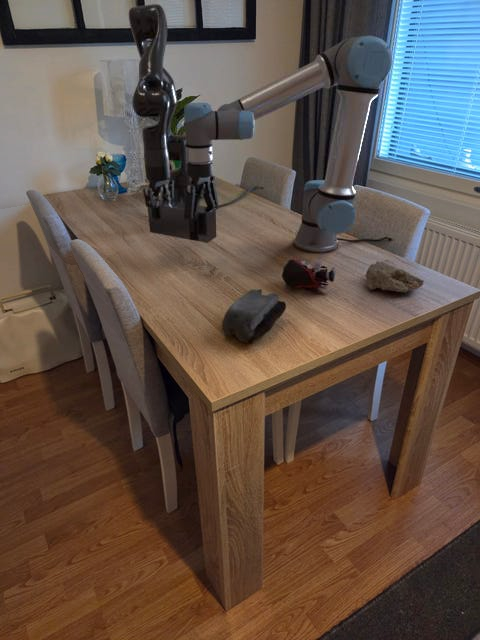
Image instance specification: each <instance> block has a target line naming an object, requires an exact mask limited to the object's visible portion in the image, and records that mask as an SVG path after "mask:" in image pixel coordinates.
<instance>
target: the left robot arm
mask: <svg viewBox="0 0 480 640" xmlns="http://www.w3.org/2000/svg"><path fill="white" fill-rule="evenodd" d="M128 22H129V27H130V30H131V33H132V36H133V39H134V44H135V45H136V49H137V53H138V55H139V59H140V60H139V63H138V81H137V85H136V87H135V90H134V93H133V96H132V103H131V104H132V109H133V111H134V113H135V115H136V116H138V117H140V118H155V120H156V122H155V123H154V124H151V125H146V126H143V128H142V131H141V135H142V136H141V137H142V144H143V163H144V172H145V179H146V180H147V181H148V183H149V184H148V187H147V188H143V189H142V193H143V197H144V202H145V207H146V208H147V207H150V208H151V211H152V217H153V219H156V220H158V219H159V209H158V205H159V201H160V200H166V201H173V202H179V203H185V198H186V190H185V186H186V185H191V180H192V179H191V177H190V176H188V173H187V163H188V161H187V158H186V137H185V135H177V134H173V132H172V127H171V123H172V119H173V117H174V114H175V112H176V109H177V106H178V94H177V90H176V85H175V81H174V78H173V77H172V76H171V74H170V73H169V71H168V70H167V69H166V68H165V67H164V59H165V54H166V53H165V52H166V47H167V40H168V39H167V38H168V20H167V17H166V12H165V9H164V8H163V6H162V5H161V4H158V3H157V4H156V3H153V4H145V5H139V6H133V7H131V8H129V10H128ZM148 42H150V43H149V44H148ZM170 161H172V162H173V161H181V165H180V167H179V168H177V169H175V168H174V169H171V168H170V166H171V165H170ZM257 188H261V189H264V186H263V187H259V185H255V186H254V187H251V188H249V189H247V190H246V192H244V193H243V194H242V195H241V196H239V197H237V198H235V199H234V200H232V201H229V202H225V203H222V204H218V205H217V206H218V208H222V207H224V206H228V205H231V204H233V203H236V202H238V201H239V200H241V199H243V198H244V197H245V196H246V195H247V194H249V192H251V191H253V190H255V189H257ZM169 191H170V192H169ZM154 200H155V201H156V202H155V204H154Z"/></svg>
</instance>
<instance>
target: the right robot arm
mask: <svg viewBox="0 0 480 640" xmlns="http://www.w3.org/2000/svg"><path fill="white" fill-rule="evenodd" d="M392 65H393V55H392V50H391V48H390V46H389V45H388V43H387V42H386V41H385V40H383V39H382V38H380V37H377V36H374V35H361V36H351V37H348V38H346V39H344V40H341V41H340V42H338V43H337V44H335V45H333V46H332V47H330V48H329V49H327V50H325V51H324V52H322V53H319V54H317V55H316V57H315V59H314V61H312V62H310V63H307V64H306V65H304V66H302V67H299V68H298V69H296V70H294V71H292V72H289V73H287V74H286V75H284V76H282V77H280V78H278V79H275V80H274V81H272V82H269V83H268V84H266V85H264V86H261V87H260V88H258V89H256V90H254V91H252V92H250V93H248V94H246V95H243V96H242V97H240V98H238V99H236V100H235V101H232V102H230V103H225V104H222V105H221V106H219V107H218V108H217V110H213V109H212V106H211V104H210V103H208V102H188V103H187V104H186V105H185V106H184V108H183V110H184V111H183V112H184V114H183V115H184V117H183V118H184V121H183V123H184V136H185V137H186V158H187V161H188V163H187V173H188V176H190V177H191V179H192V180H191V185H186V186H185V190H186V198H185V210H184V219H186V220H189V230H190V240H189V241H194V240H195V242H199V241H198V240H199V234H198V220H196V217H197V212H198V207H199V206H200V203H201V199H204V202H205V205H206V207H211V208H216V210H219V209H218V208H219V207H218V205H219V200H218V193H217V187H216V177H215V176H214V166H213V165H214V164H213V162H212V161H213V153H214V152H213V141H221V140H223V141H233V140H234V141H235V140H240V141H244V140H251V139H253V137H254V134H255V122H256V121H257V120H259V119H262V118H263V117H265V116H267V115H268V114H271V113H274V112H276V111H277V110H279V109H281V108H284V107H286V106H288V105H289V104H291V103H294V102H296V101H298V100H300V99H302V98H304V97H306V96H308V95H310V94H312V93H314V92H316V91H318V90H321V89H323V88H324V89H327V90H329V89H330V88H333V87H335V86H337V87H336V92H337V94H338V95H339V97H340V100H339V103H338V104H339V105H338V110H337V116H336V120H335V125H334V131H333V136H332V142H331V147H330V152H329V156H328V162H327V168H326V173H325V178H324V179H318V180H317V179H315V180H308V181H307V182H305V183H304V188H303V199H302V211H301V223H300V226H299V228H298V230H296V231H295V238H294V245H295V246H296V247H297V248H298V249H300V250H302V251H305V252H310V253H328V252H331V251H334V250H335V249H337V246H338V241H342V242H347V243H357V242H382V241H384V240H389V241H393V239H392V237H390V238H388V237H389V236H383V237H381V238H357V239H347V238H342V237H337V235H342V234H344V233H345V232H347V231H349V229H350V228H351V227H352V226H353V225H354V224H355V221H356V216H357V212H356V208H355V206H354V201H355V198H356V190H355V189H354V187H353V183H354V179H355V174H356V170H357V167H358V166H357V165H358V161H359V156H360V152H361V148H362V143H363V139H364V134H365V129H366V126H367V121H368V117H369V113H370V107H371V103H372V101H373V100H374V99H376V98H377V97H378V96H379V92H380V88H381V84H382V83H383V82H384V81H385V80H386V79H387V78H388V77H389V74H390V72H391V70H392ZM202 196H203V197H202ZM187 215H188V216H187Z"/></svg>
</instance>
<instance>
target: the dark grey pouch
mask: <svg viewBox="0 0 480 640" xmlns="http://www.w3.org/2000/svg"><path fill="white" fill-rule="evenodd" d="M262 292H263V290H262V289H250V290H248V291H247V292H246V293H245V294H243V295H242V296H241V297H239V298H238V299H237V300H235V301H234V302H233V303H232V304H231V305H230V306H229V307H228V309H227V310H226V312H225V314H224V316H223V319H222V323H221V331H222V332H223V333H224V334H225V335H227V336H234V335H235V337H236V338H237V340H239V341H240V342H244V343H247V344H249V345H251V344H253V343H254V342H255V341H257V340H258V339H260V338H262V337H264V336H265V335H266V334H267V333H269V332H270V331H271V330H272V328H273V327H274V325H275V323H276V322H277V320H278V319H279V318H280V317H281V316H283V314H284V313H285V312H286V310H287V304H286V303H287V302H285V301H280V298H279V294H278V293H276V292H275V293H274V292H273V293H269V294H262Z"/></svg>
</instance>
